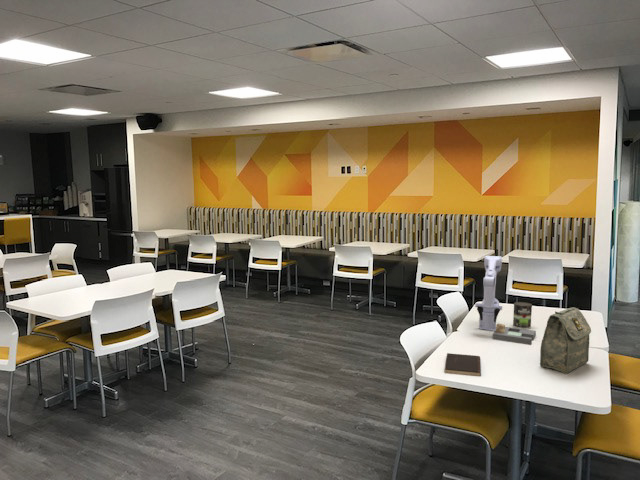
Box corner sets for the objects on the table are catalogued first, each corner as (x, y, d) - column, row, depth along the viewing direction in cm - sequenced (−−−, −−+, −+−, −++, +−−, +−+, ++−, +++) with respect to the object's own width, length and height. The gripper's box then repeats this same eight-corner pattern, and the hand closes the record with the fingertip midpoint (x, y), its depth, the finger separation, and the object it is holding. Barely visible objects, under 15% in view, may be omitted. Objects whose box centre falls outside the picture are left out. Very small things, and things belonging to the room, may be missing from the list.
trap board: (492, 339, 293) (492, 333, 293) (499, 330, 309) (499, 325, 308) (530, 344, 283) (530, 339, 283) (535, 335, 299) (535, 330, 298)
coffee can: (532, 329, 312) (533, 306, 310) (514, 328, 313) (515, 305, 312) (528, 324, 322) (529, 302, 320) (511, 324, 323) (512, 301, 322)
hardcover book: (444, 373, 243) (444, 368, 243) (447, 357, 265) (447, 353, 265) (480, 377, 239) (481, 372, 238) (480, 360, 261) (480, 356, 260)
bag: (571, 375, 239) (574, 316, 236) (537, 366, 251) (539, 310, 248) (591, 364, 254) (595, 308, 251) (558, 355, 266) (561, 302, 263)
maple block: (496, 332, 296) (496, 325, 295) (497, 330, 299) (497, 323, 299) (503, 333, 294) (503, 326, 293) (504, 331, 297) (505, 324, 297)
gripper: (474, 297, 298) (473, 320, 300) (500, 300, 291) (499, 324, 292) (477, 294, 304) (476, 317, 306) (503, 297, 297) (502, 321, 298)
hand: (488, 320), depth 299 cm, fingers open, 7 cm apart
